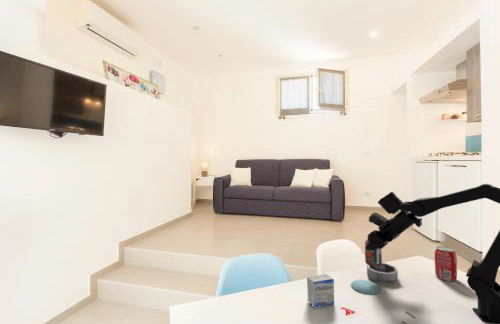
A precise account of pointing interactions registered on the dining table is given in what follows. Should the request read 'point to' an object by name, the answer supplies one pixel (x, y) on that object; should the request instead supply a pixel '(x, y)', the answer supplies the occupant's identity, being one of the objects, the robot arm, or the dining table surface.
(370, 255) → the supplement bottle
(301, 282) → the dining table surface
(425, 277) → the dining table surface
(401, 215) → the robot arm
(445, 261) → the soda can
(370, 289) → the teal mat
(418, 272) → the dining table surface
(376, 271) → the grey octagonal bowl
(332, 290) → the medicine box
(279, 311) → the dining table surface
